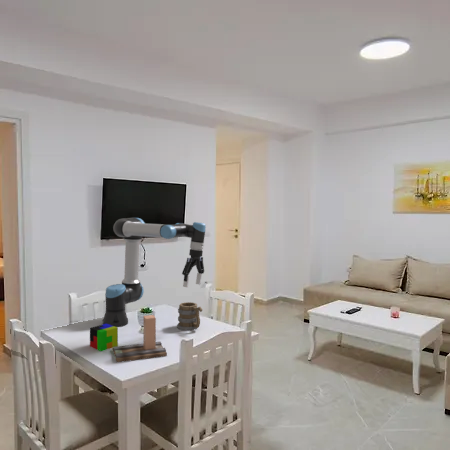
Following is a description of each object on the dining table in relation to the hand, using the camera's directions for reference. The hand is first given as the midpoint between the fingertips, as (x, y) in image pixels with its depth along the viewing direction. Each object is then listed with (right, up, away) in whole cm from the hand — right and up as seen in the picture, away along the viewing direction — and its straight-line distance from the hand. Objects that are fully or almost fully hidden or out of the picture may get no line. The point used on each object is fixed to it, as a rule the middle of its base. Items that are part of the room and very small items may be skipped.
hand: (191, 285), depth 238 cm
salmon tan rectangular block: (-19, -27, -31) cm, 45 cm away
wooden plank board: (-24, -29, -32) cm, 50 cm away
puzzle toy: (-44, -28, -24) cm, 58 cm away
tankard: (-1, -27, +8) cm, 28 cm away
